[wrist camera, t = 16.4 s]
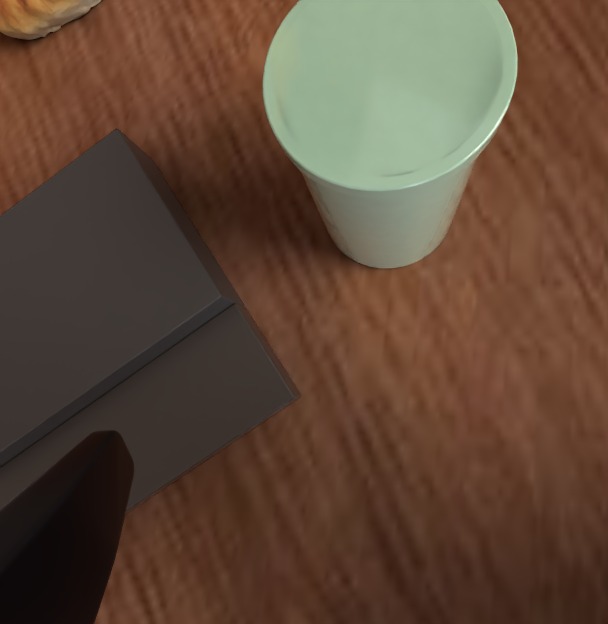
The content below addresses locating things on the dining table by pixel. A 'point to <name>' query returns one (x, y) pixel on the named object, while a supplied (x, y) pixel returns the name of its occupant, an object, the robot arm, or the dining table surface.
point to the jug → (388, 113)
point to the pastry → (39, 16)
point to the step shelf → (122, 328)
